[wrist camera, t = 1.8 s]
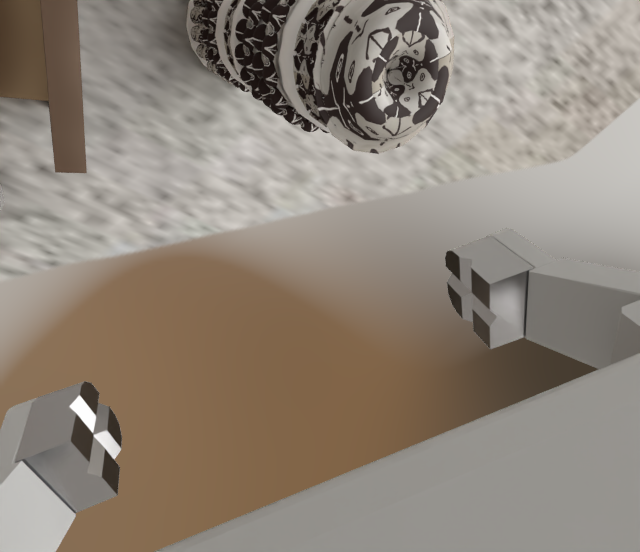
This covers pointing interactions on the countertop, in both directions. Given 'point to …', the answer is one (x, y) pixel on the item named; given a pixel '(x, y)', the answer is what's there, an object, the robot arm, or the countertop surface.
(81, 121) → the cleat board
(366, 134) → the decorative candle
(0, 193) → the salt shaker
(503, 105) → the countertop surface
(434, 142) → the countertop surface
